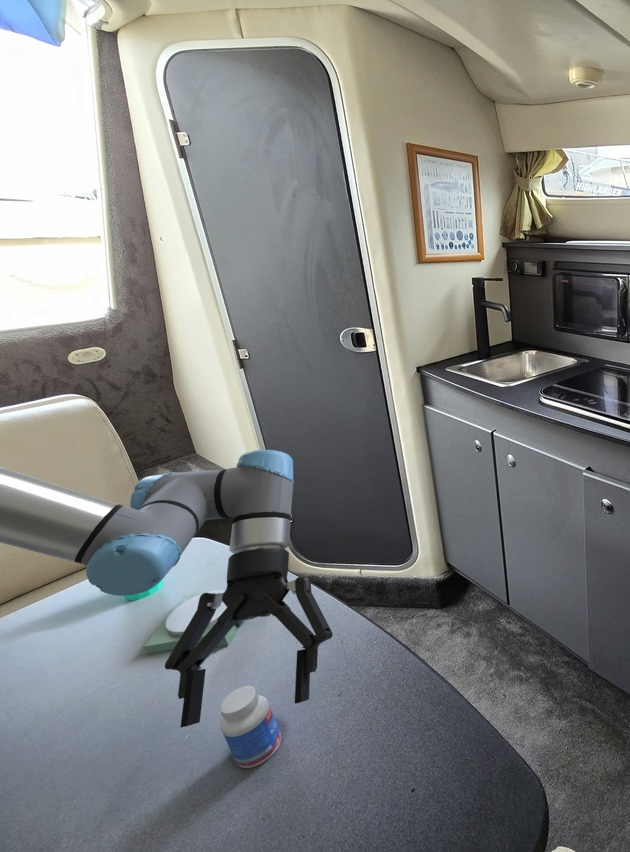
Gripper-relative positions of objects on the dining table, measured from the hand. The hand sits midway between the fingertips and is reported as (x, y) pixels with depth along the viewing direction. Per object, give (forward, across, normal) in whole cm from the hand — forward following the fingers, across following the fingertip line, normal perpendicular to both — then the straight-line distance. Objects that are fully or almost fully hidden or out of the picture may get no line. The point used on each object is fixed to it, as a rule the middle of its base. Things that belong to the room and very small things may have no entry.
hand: (247, 713), depth 66 cm
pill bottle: (+5, 0, -5) cm, 7 cm away
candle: (-24, +37, -34) cm, 56 cm away
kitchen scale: (-14, +19, -24) cm, 33 cm away
